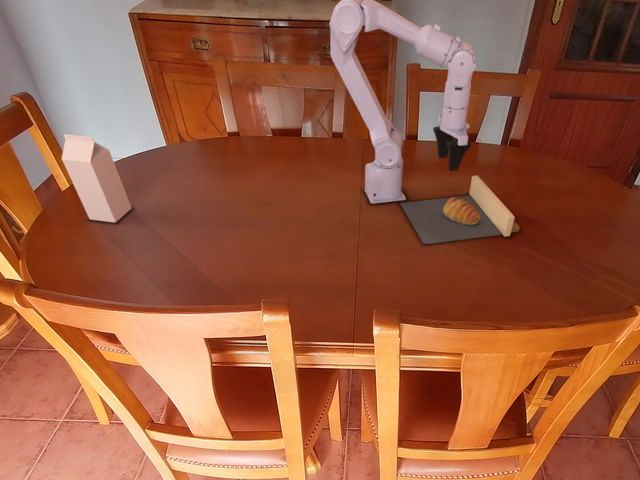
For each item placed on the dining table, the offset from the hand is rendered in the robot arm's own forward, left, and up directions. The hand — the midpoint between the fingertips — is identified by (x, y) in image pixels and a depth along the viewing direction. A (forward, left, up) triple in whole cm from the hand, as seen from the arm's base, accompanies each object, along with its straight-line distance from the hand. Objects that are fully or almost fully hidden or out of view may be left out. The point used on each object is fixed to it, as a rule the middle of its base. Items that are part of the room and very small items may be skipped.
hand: (447, 163), depth 116 cm
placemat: (-2, -10, -9) cm, 14 cm away
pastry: (+1, -10, -10) cm, 14 cm away
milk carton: (-84, +10, -10) cm, 85 cm away
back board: (+10, -10, -9) cm, 17 cm away
